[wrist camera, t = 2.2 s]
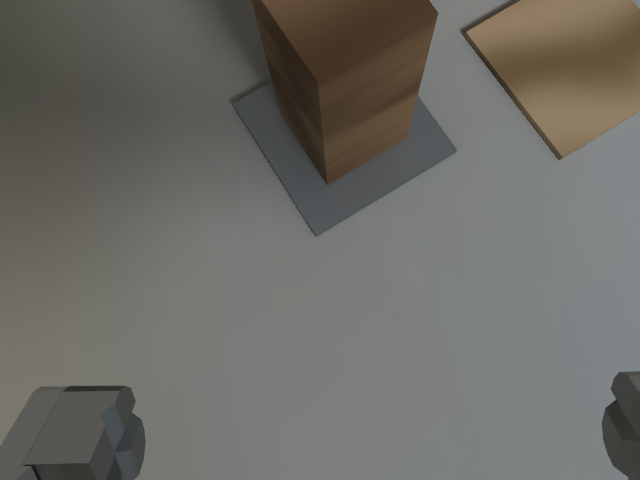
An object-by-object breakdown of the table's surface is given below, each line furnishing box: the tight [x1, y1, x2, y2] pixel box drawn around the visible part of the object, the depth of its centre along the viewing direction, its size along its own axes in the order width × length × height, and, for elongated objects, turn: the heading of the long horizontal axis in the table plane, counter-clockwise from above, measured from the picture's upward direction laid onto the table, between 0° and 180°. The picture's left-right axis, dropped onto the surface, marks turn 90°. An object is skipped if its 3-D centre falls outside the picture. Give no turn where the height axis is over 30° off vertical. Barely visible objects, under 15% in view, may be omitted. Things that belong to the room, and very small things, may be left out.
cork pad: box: [464, 0, 640, 160], centre depth 29 cm, size 8×8×1 cm
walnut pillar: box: [252, 0, 438, 185], centre depth 24 cm, size 4×4×10 cm
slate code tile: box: [233, 81, 457, 237], centre depth 29 cm, size 8×8×1 cm
